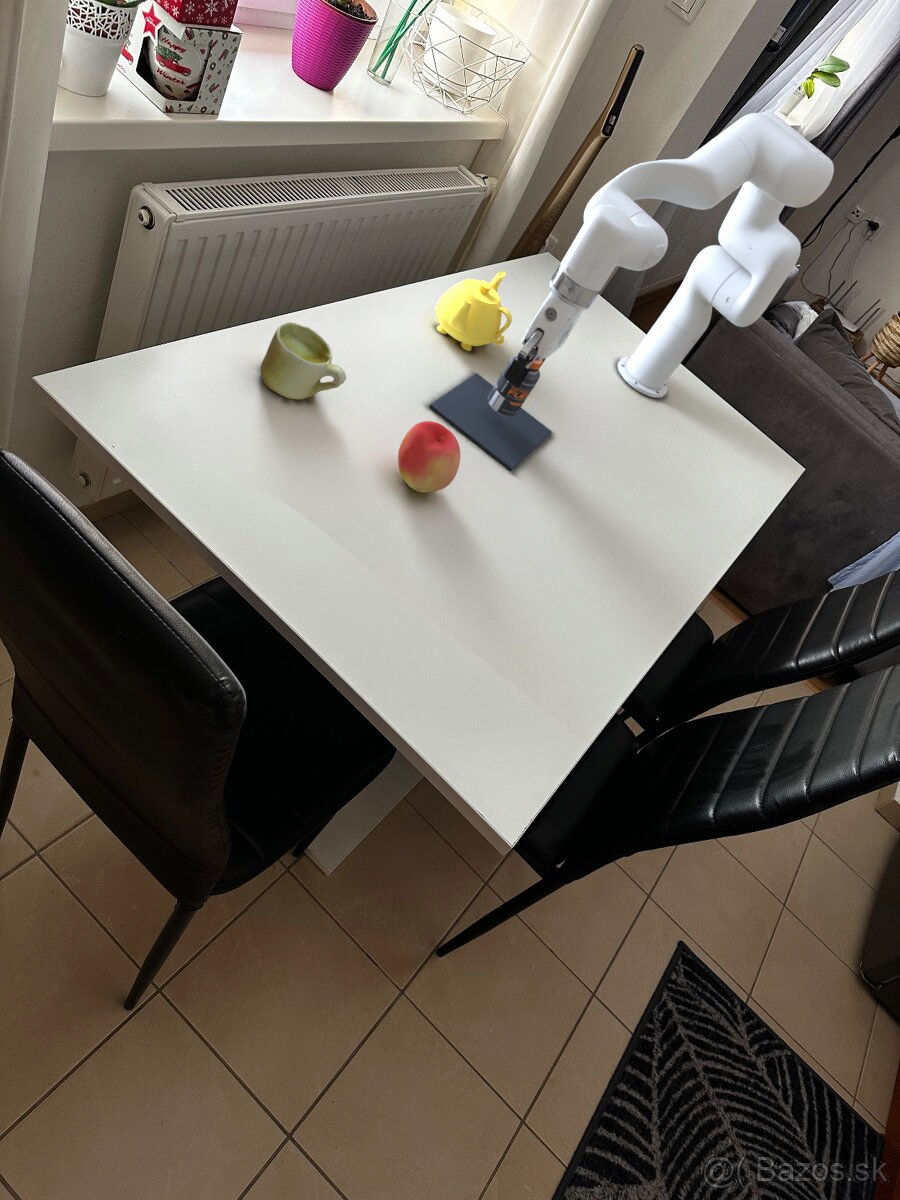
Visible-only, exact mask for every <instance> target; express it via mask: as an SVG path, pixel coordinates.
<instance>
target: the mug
mask: <svg viewBox="0 0 900 1200" xmlns="http://www.w3.org/2000/svg"><path fill="white" fill-rule="evenodd" d="M332 361H333V352H332V348H331V346H330V344H329V343H328V341H326V339H325V338H324V337H322V336H321V334H320V333H318V332H317V331H316V330H314V329H313V328H311V327H309V326H306V325H302V324H299V323H297V322H292V321H288V322H284V323H282V324H280V325H279V326H278V327H276V330H275V332H274V333H273V336H272V338H271V341H270V342H269V345H268V347H267V350H266V354H265V355H264V357H263V359H262V362H261V364H260V376H261V379H262V380H263V382H264V385H266V387H267V388H268V389H270V390H271V391H273V392H275V393H277V395H280V396H281V397H283V398H287V399H289V400H305V399H308V398H310V397H313V396H315V395H316V394H317V393H321V392H322V391H328V390H331V389H335V388H339V387H340V386H341V385H343V384H344V383H345V381H346V379H347V374H346V372H345V371H344V369H343V368H342V367H341V366H340V365H337V364H333V363H332ZM324 377H332V378H333V380H331V381H325V382H324V381H323V382H322V381H321V380H322V379H323V378H324Z"/></svg>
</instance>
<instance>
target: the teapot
mask: <svg viewBox="0 0 900 1200" xmlns="http://www.w3.org/2000/svg"><path fill="white" fill-rule="evenodd" d="M505 276H506V271H504V270H501V271H499V272H498V273H497V274H496V275H495V276H494V277H493V279H492V280H491V281H490V282H488V281H486V280H483V279H482V280H481V279H480V280H478V279H475V278H466V279H464V280H462V281H459V282H458V283H456V284H454V285H453V286H451V287H450V288H448V289H447V290H446V291H445V292H444V293H443V294H442V296H440V298H439V299H438V301H437V303H436V304H435V305H436V306H435V313H436V317H437V320H438V323H439V325H437V327H436V330H437V331H438V332H439V333H440V334H442V335H447V334H448V335H449V336H450V337H452V338H453V339H455V340H456V341H459V342H461V343H460V347H461V348H462V349H463V350H465V351H467V352H470V351H472V347H480V346H484V345H488V344H491V343H492V342H493V344H494V345H496V346H502V345H503V344H504V343H505V341H506V340H505V337H504V335H503V333H505V332H506V331H507V329H509V328H510V326H511V324H512V322H513V316H512V314H511V312H510V311H509V309H507V308H506V307H504V306H502V303H501V302H502V301H501V298H500V295H499V294H498V289H499V286H500V284H501V282H502V281H503V279H504V278H505ZM502 314H503V315H504V316H505V318H506V322H505V324H504V325H503V326H502V327H501V324H502Z"/></svg>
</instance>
